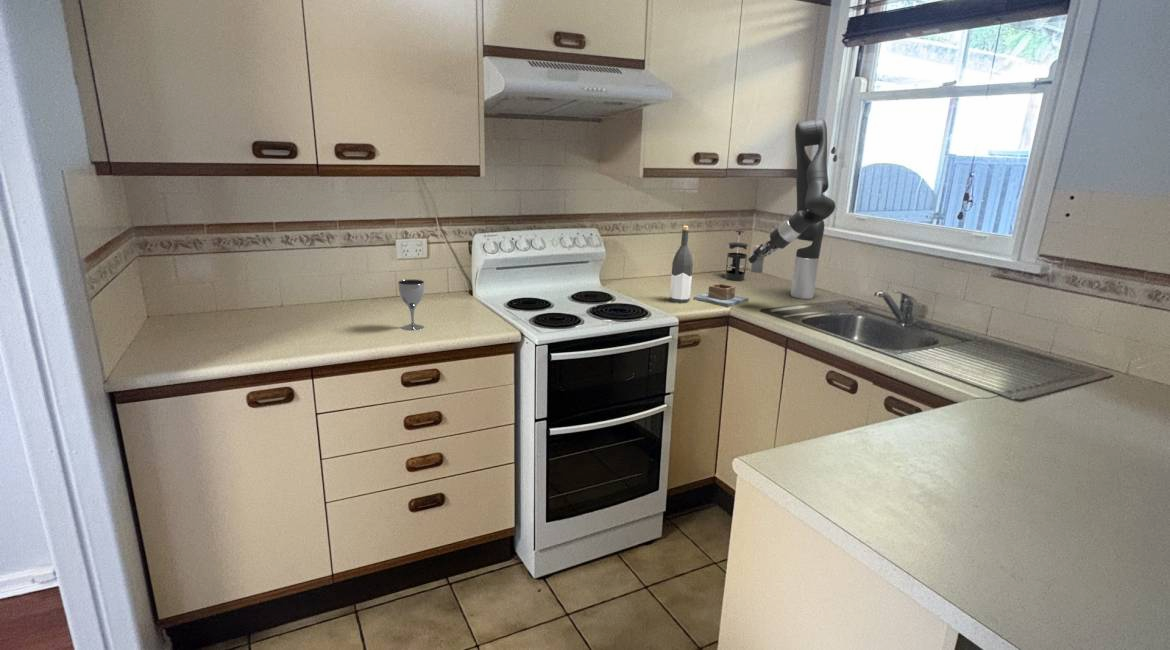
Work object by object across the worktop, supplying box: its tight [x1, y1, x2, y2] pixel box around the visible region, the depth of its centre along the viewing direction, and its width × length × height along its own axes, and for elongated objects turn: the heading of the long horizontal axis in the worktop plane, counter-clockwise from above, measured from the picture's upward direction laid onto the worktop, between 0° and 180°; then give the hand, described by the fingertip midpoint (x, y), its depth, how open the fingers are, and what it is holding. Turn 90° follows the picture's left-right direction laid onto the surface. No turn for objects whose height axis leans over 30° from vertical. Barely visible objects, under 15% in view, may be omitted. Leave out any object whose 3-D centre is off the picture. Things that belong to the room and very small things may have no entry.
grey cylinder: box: [750, 244, 765, 274], centre depth 245 cm, size 4×4×10 cm
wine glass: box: [397, 278, 425, 331], centre depth 202 cm, size 8×8×15 cm
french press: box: [724, 230, 749, 282], centre depth 297 cm, size 12×9×23 cm
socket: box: [693, 283, 749, 308], centre depth 257 cm, size 16×16×6 cm
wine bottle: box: [669, 225, 694, 304], centre depth 249 cm, size 8×8×30 cm
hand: (753, 260), depth 247 cm, fingers closed on grey cylinder, 4 cm apart
